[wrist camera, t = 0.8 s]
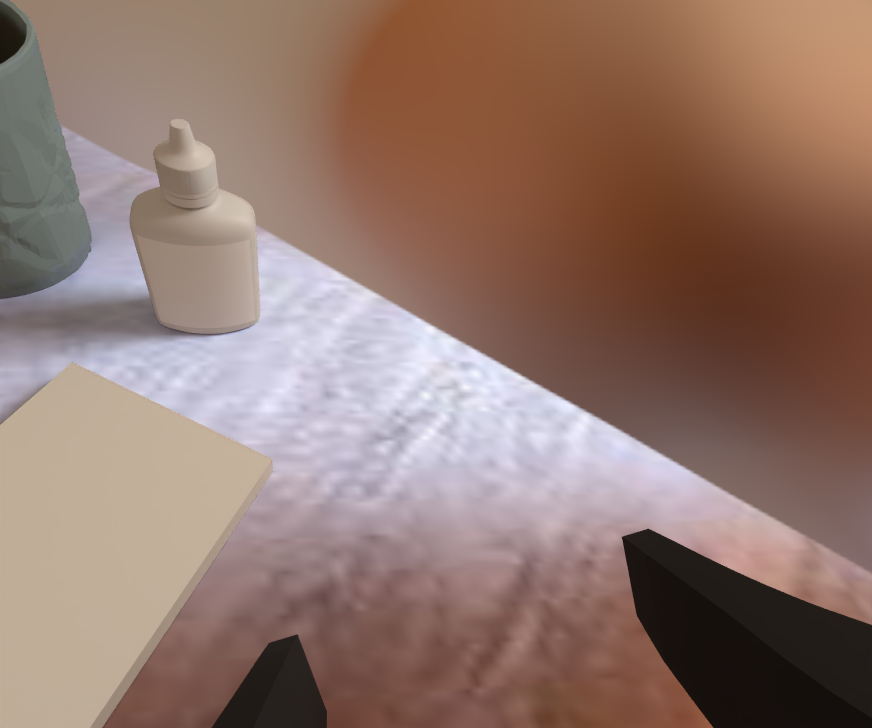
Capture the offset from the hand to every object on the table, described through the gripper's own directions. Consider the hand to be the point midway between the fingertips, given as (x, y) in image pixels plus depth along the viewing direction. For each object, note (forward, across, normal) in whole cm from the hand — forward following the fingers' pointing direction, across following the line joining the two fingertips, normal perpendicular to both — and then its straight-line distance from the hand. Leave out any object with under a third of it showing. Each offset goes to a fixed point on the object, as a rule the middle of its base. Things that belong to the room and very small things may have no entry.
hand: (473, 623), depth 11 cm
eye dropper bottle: (+22, +11, -7) cm, 26 cm away
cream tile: (+11, +17, +1) cm, 20 cm away
